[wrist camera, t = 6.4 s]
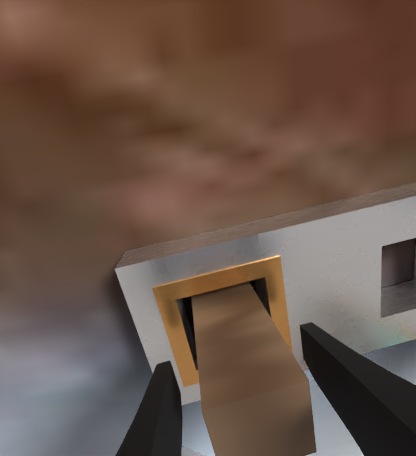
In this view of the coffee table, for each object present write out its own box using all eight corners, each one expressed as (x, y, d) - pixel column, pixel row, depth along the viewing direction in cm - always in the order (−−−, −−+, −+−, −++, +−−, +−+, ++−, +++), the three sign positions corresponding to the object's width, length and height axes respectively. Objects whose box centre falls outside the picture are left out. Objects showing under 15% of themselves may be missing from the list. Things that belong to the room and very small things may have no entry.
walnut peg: (242, 271, 15) (308, 380, 7) (250, 315, 16) (316, 451, 8) (190, 284, 15) (202, 411, 7) (202, 328, 16) (223, 481, 8)
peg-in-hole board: (454, 172, 15) (508, 174, 12) (440, 299, 18) (482, 321, 15) (125, 250, 14) (114, 269, 11) (168, 374, 16) (165, 411, 14)
